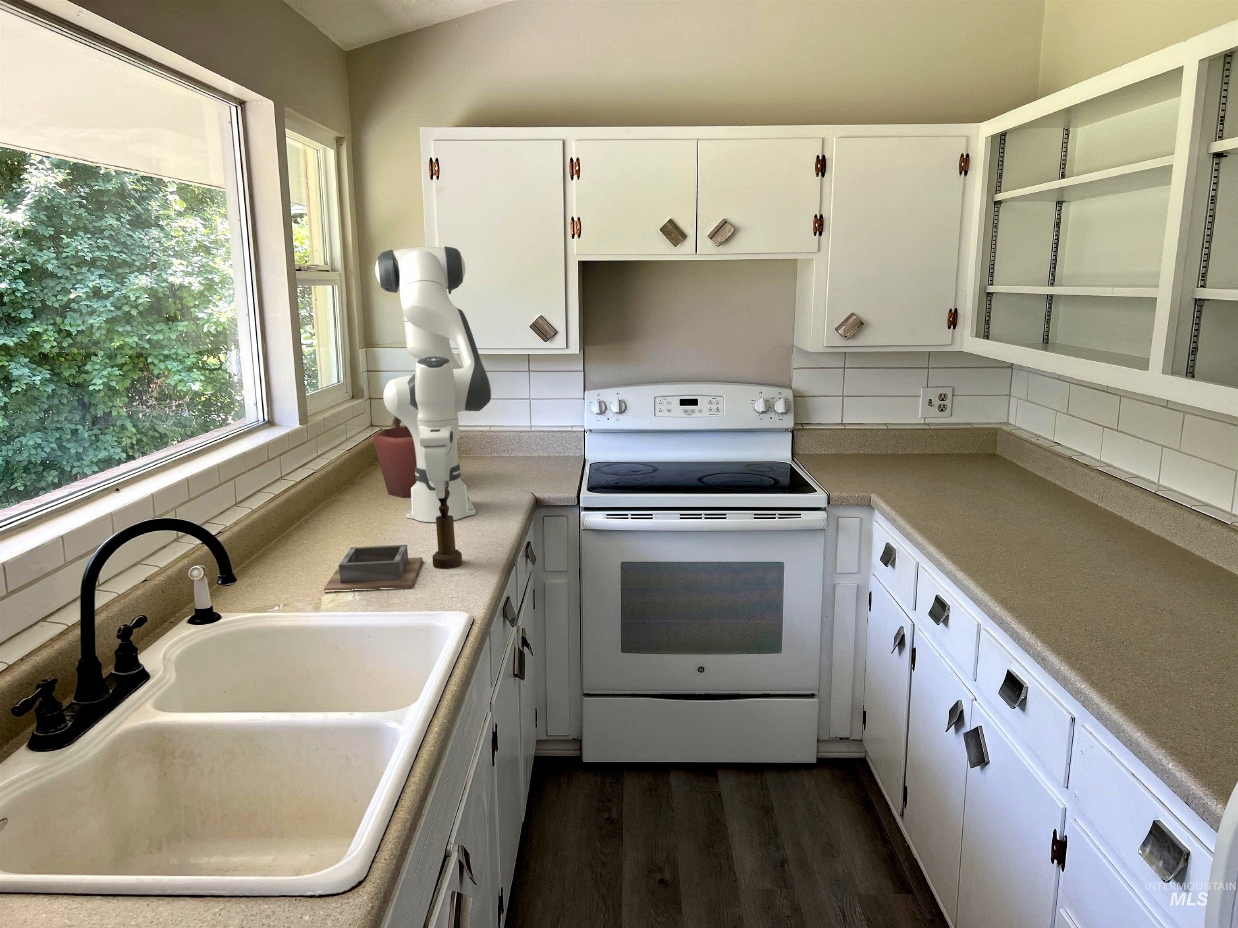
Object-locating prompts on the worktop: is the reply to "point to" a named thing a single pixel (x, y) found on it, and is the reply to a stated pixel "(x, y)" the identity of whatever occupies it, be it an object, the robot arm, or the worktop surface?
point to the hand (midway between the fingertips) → (443, 492)
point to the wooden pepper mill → (446, 538)
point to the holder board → (375, 569)
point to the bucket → (396, 458)
